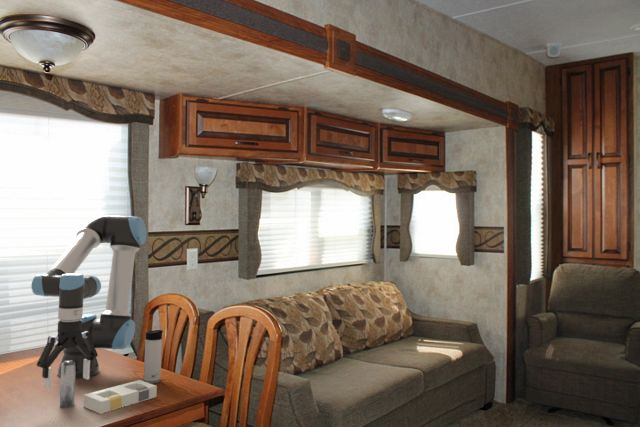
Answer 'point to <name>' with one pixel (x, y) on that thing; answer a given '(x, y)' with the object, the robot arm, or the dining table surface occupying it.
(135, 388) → the socket board
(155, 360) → the travel mug
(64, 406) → the plug
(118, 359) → the dining table surface
